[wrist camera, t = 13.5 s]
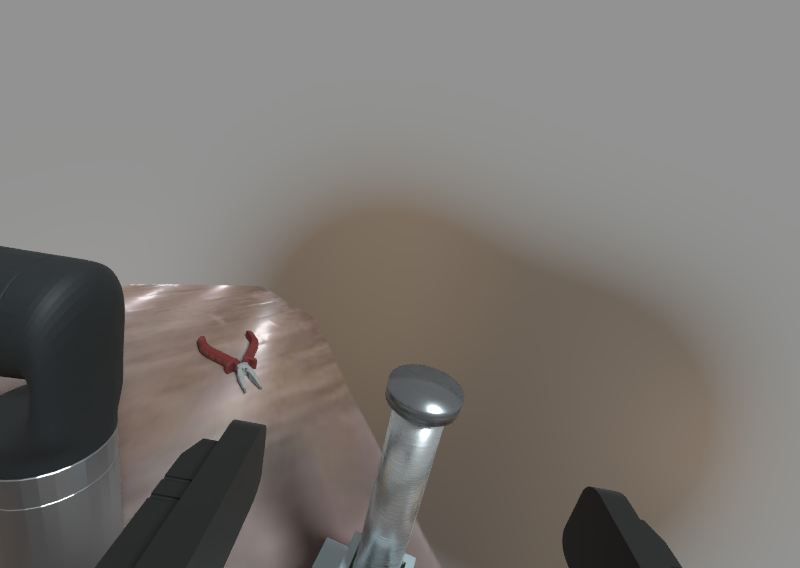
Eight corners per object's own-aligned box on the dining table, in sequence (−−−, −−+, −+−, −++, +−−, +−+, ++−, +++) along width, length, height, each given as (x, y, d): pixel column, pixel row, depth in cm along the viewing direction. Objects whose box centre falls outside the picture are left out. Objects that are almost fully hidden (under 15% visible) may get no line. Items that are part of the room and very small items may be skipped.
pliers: (218, 404, 63) (219, 391, 63) (195, 345, 78) (195, 334, 77) (284, 389, 71) (285, 377, 70) (251, 338, 85) (252, 327, 84)
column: (331, 598, 32) (377, 393, 25) (356, 539, 37) (400, 356, 30) (392, 629, 31) (458, 423, 24) (409, 563, 36) (468, 379, 29)
